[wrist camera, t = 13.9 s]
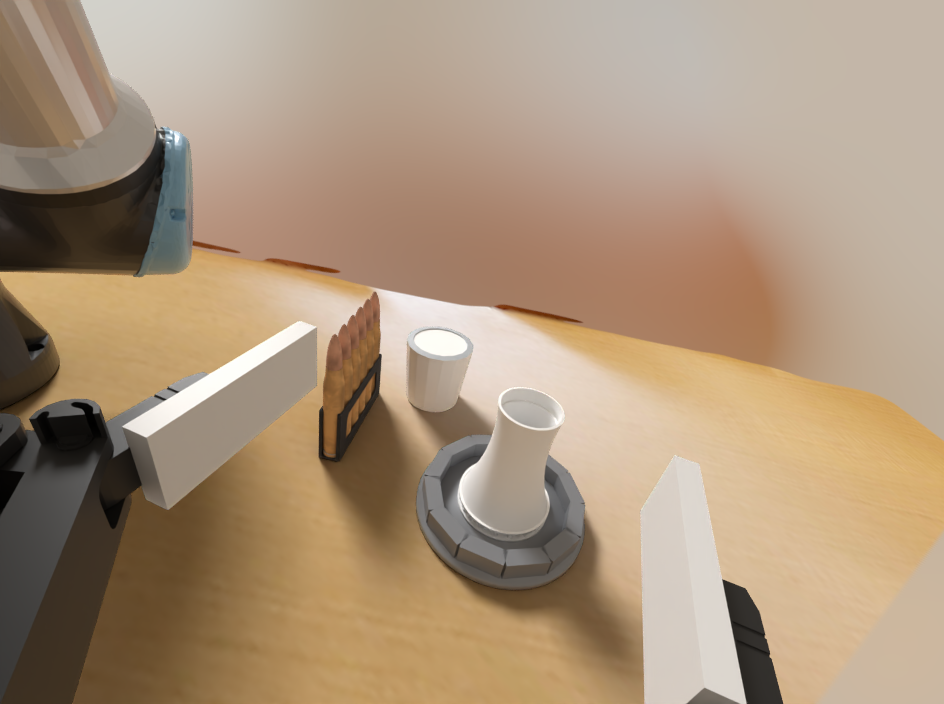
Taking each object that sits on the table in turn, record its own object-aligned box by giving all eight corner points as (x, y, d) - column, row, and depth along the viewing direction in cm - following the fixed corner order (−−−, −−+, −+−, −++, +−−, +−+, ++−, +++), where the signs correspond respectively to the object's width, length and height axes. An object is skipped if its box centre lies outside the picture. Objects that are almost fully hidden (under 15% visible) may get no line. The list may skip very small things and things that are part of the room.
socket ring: (383, 541, 31) (386, 522, 30) (452, 429, 43) (455, 412, 42) (571, 624, 28) (581, 607, 27) (589, 480, 40) (596, 464, 39)
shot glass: (459, 380, 51) (469, 328, 47) (466, 417, 45) (478, 362, 41) (400, 376, 49) (406, 322, 46) (400, 414, 43) (407, 356, 40)
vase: (472, 549, 31) (501, 448, 26) (447, 472, 37) (466, 378, 32) (562, 534, 34) (604, 439, 29) (524, 463, 40) (554, 375, 35)
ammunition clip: (338, 463, 36) (341, 343, 30) (317, 458, 37) (317, 337, 31) (379, 392, 46) (388, 290, 40) (362, 389, 46) (368, 286, 40)
